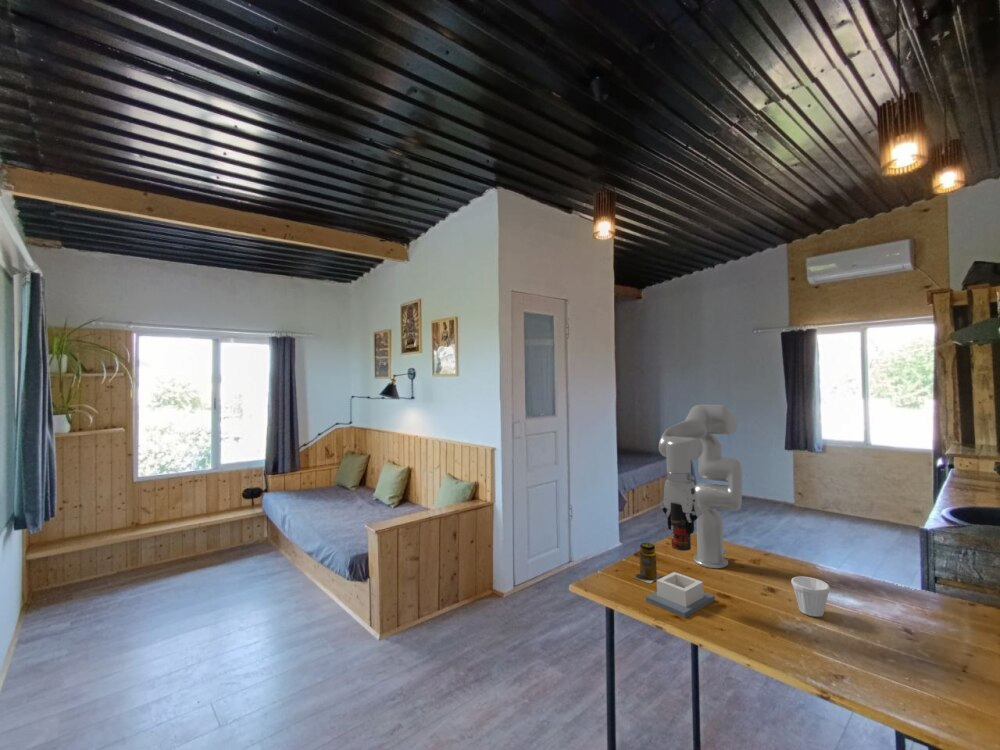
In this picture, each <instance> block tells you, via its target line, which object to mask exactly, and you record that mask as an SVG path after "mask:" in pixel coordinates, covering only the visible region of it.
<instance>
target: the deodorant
mask: <svg viewBox="0 0 1000 750" xmlns="http://www.w3.org/2000/svg"><path fill="white" fill-rule="evenodd" d="M686 522H688V520H687V518H686V515H685V513H683V510H682V505H680V504H675V503H671V531H670V533H671V539H670V540H671V548H672V549H674V550H677V551H683V552H686V551H690V550H691V549H692V543H691V534H689V535H688V534H687V533H686Z"/></svg>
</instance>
